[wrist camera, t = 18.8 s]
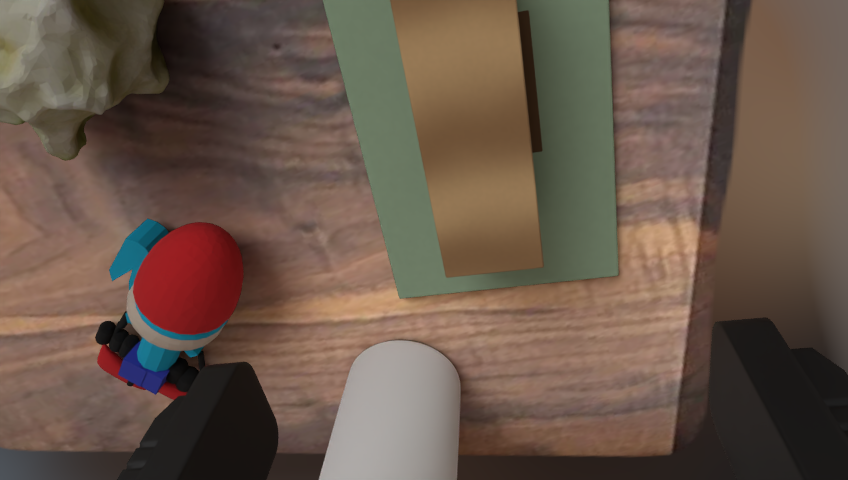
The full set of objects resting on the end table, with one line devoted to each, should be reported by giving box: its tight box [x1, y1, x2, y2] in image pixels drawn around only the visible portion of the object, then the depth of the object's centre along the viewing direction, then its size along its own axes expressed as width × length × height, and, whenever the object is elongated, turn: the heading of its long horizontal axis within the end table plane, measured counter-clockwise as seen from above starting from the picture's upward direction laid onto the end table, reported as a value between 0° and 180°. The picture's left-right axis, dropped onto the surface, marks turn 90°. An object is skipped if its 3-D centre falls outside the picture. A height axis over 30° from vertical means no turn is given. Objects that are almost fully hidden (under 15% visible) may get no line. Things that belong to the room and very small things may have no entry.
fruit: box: [0, 0, 170, 161], centre depth 23 cm, size 9×9×8 cm
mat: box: [323, 0, 619, 299], centre depth 25 cm, size 20×11×1 cm, turn 11°
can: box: [319, 340, 461, 480], centre depth 29 cm, size 6×6×12 cm
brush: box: [390, 0, 544, 278], centre depth 23 cm, size 12×4×4 cm, turn 11°
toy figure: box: [95, 219, 243, 400], centre depth 31 cm, size 8×5×15 cm
